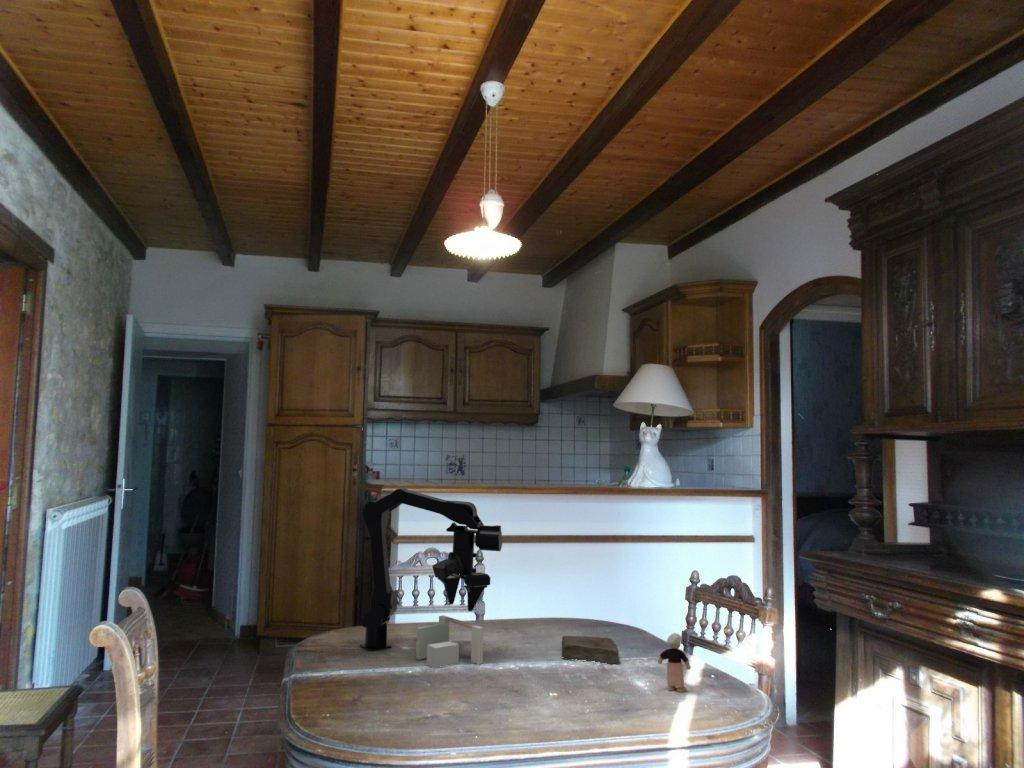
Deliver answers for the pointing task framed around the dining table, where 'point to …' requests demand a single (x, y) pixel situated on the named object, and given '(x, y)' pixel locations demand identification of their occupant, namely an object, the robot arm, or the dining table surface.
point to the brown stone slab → (590, 649)
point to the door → (430, 637)
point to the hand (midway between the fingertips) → (460, 607)
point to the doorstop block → (442, 654)
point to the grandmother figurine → (675, 663)
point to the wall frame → (475, 640)
